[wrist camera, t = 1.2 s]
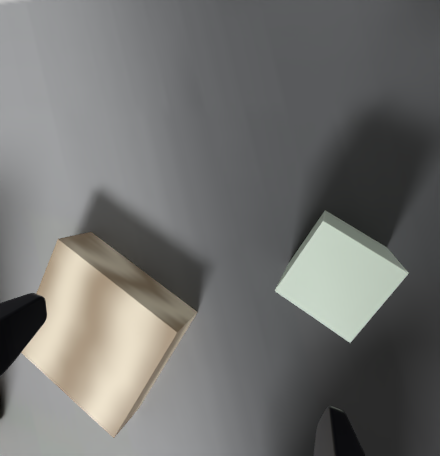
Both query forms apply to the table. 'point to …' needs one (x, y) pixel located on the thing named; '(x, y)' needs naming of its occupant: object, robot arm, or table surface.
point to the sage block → (340, 276)
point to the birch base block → (104, 329)
